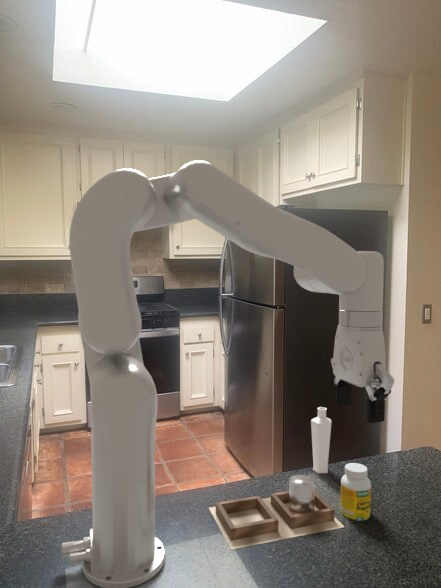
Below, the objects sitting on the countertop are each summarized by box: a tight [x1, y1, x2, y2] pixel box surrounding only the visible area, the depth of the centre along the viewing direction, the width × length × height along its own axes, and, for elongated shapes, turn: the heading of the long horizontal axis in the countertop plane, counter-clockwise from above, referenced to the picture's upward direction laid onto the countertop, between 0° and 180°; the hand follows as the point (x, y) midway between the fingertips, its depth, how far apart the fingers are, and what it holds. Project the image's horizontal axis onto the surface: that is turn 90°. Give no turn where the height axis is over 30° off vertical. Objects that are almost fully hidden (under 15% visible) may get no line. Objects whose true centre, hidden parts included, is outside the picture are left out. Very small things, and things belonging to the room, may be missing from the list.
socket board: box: [208, 490, 345, 551], centre depth 81 cm, size 21×13×3 cm, turn 108°
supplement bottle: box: [340, 462, 372, 522], centre depth 83 cm, size 5×5×10 cm
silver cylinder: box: [288, 474, 316, 515], centre depth 83 cm, size 5×5×6 cm
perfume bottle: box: [310, 406, 332, 474], centre depth 99 cm, size 5×4×15 cm
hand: (358, 412), depth 82 cm, fingers open, 9 cm apart
